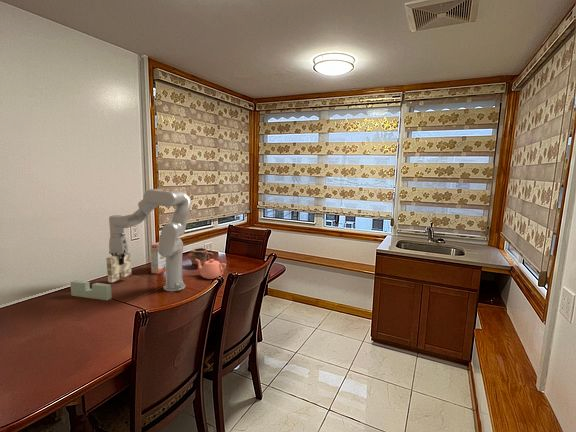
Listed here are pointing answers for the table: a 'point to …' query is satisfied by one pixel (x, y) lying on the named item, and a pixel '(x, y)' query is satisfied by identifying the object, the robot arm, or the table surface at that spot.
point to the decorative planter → (199, 256)
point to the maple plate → (118, 267)
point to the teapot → (211, 269)
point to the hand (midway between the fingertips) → (119, 263)
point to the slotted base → (91, 290)
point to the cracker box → (157, 260)
